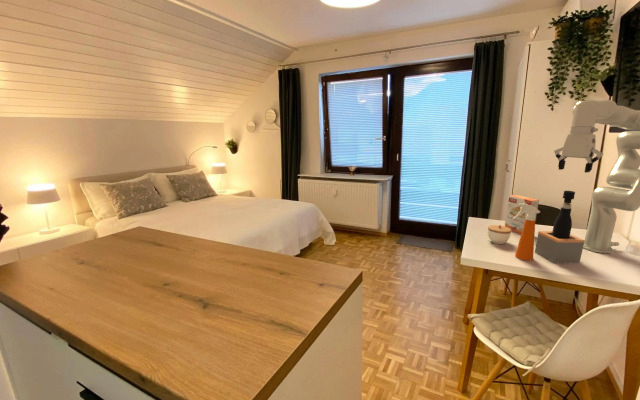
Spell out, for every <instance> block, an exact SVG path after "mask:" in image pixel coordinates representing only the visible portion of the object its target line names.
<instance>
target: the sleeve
mask: <svg viewBox="0 0 640 400" xmlns="http://www.w3.org/2000/svg"><path fill="white" fill-rule="evenodd" d="M552 231H553V230H550V231H549V230H543V231H542V230H540V231H539V230H538V232H537V238H536V242H535V243H536V244H535V247H534V253H535V254H537V255H538V256H541V257H542V258H544V259H545V260H547V261H549V262H551V263H552V264H580V263H581V258H582V254H583V250H584V248H583V246H584V242H585V239H583V238H580V237H578V236H575V235H573V234H571V233H570V237H569V239H558V238H556V237H554V236H552Z"/></svg>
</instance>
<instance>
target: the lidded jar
mask: <svg viewBox="0 0 640 400" xmlns="http://www.w3.org/2000/svg"><path fill="white" fill-rule="evenodd" d="M511 234H512V231H511V229H510V228H508V227H505V225H501V224H491V225H488V227H487V237H488V239H489V240H490V241H491V243H493V244H497V245H504V244H505V243H507V242H508V241H509V239H510V238H511Z"/></svg>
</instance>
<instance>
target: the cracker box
mask: <svg viewBox="0 0 640 400" xmlns="http://www.w3.org/2000/svg"><path fill="white" fill-rule="evenodd" d="M519 203H522V204H523V203H524V204H527V205H530V206H532V207H534V208H536V209H538V210H539V208H538V207H539V203H540V200H539V199H535V198H531V197H527V196H523V195H519V194H510V195H509V196H508V204H507V207H506V208H507V209H506V215H505V216H506V217H505V220H504V226H505V227H508V228H510V229H511V232H514V233H516V234H519V235H521V234H522V230H523V227H524V223H525V220H526V215H527V214H528V212H525V213H524V214H522V215H521V216H519V217H518V218H515V219H513V218H514V217H515V216H516V215H517V214H518V213H519V212H520V210H521V209H520V208H521V206H519ZM524 211H526V210H524ZM537 214H538V213H536V214H535V216H536V217H537ZM535 221H537V218H536V219H535Z"/></svg>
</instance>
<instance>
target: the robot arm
mask: <svg viewBox="0 0 640 400" xmlns="http://www.w3.org/2000/svg"><path fill="white" fill-rule="evenodd" d="M572 115H573V116H572V121H571V125H570V130H569V131H570V132H569V134H567V135H566V138H565V141H564V144H563V146H562V147H560V148H557V149H555V150H554V155H555V157H556V159H557V160H558V165H557V166H558V171H559V170H560V171H561V170H564V169H565V166H566V159H567V158H573V159H574V158H576V159H585V161H586V163H585V167H584V173H590V172H591V171H592V170H593V166H594V163H596V162H597V161H599V160H600V159H601V158H602V157H603V156H604V153H603V152H602V151H600V150H598V149H597V148H596V141H597V136H596V134H594V133H595V132H598V131H599V128H598V127H596V124H600V125H606V126H612V127H616V128H619V129H623V130H626V131H623V132H620V133H618V134H617V137H616V139H615V142H616V147H617V148H616V149H617V158H616V161H615V162H614V165H613V166H612V167H611V170H609V173H608V175H607V176H606V178H605V181H606V183H607V185H609V186H599V187H597V188H595V189H594V190H593V191H592V193H591V209H590V213H589V219H588V223H587V228H586V232H585V238H584V240H585V242H584V246H583V250H587V251H591V252H594V253H601V254H612V253H613V252H614V249H613V248H612V247H619V245H620V243H619V241H612V238H613V233H614V230H615V226H616V222H617V213H616V211H615V209H616V210H621V211H626V212H634V211H637V210H639V209H640V154H639V152H638V151H637V150H640V110H638V109H636V110H635V109H633V108H630V107H627V106H625V105H617V103H616V101H614V100H610V99H602V100H600V99H599V100H594V99H593V100H592V99H591V100H588V99H587V100H579V101H577V102H576V103H575V105H574V107H573V108H572ZM560 152H561V153H560ZM595 155H596V156H595ZM594 156H595V157H594Z"/></svg>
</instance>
